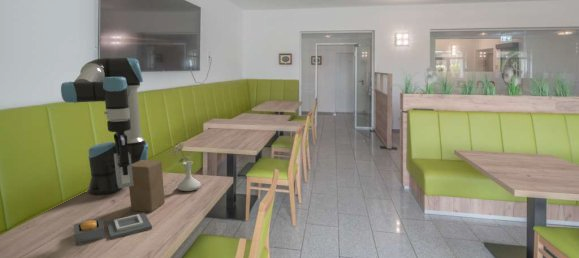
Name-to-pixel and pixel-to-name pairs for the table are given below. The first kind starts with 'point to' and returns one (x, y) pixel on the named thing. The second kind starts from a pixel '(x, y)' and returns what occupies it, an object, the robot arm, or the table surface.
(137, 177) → the wooden block
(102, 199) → the table surface
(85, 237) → the button station
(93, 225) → the button
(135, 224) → the plate
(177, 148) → the flower in vase
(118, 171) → the steel billet
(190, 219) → the table surface
